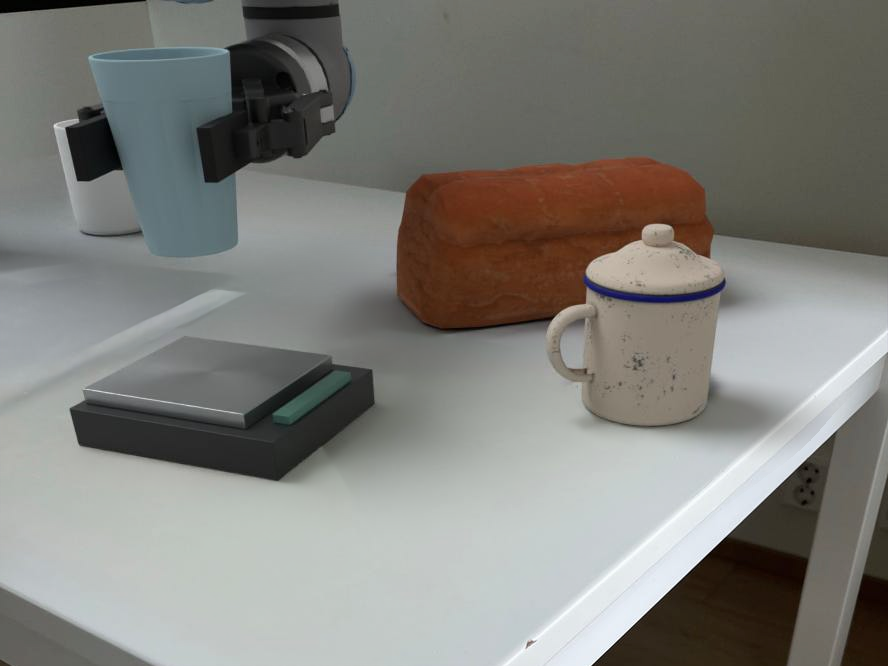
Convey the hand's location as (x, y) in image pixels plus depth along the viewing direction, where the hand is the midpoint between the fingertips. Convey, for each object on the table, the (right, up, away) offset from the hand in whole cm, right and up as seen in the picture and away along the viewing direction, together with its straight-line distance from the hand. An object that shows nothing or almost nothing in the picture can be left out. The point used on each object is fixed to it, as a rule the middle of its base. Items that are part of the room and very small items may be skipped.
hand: (142, 155), depth 54 cm
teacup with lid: (+28, -10, +15) cm, 34 cm away
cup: (+1, -2, +8) cm, 8 cm away
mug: (-23, +21, +61) cm, 69 cm away
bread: (+25, +5, +36) cm, 44 cm away
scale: (+2, -12, +13) cm, 18 cm away
